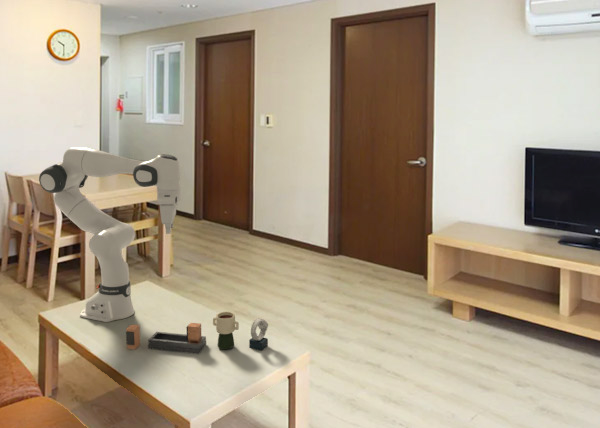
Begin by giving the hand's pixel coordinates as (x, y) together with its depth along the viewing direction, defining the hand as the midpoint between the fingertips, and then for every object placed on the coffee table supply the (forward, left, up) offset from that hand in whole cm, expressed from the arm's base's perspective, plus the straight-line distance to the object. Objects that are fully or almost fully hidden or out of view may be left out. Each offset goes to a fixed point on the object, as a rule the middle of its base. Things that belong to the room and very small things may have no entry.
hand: (169, 230), depth 203 cm
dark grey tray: (+9, -17, -41) cm, 45 cm away
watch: (+39, -10, -41) cm, 58 cm away
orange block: (-7, -20, -41) cm, 46 cm away
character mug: (+27, -13, -41) cm, 51 cm away
